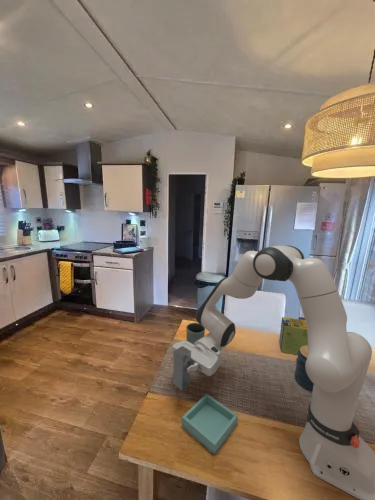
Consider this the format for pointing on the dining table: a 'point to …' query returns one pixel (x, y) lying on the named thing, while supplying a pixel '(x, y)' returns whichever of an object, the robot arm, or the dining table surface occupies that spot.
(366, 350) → the robot arm
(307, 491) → the dining table surface
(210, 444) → the tray
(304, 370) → the canister
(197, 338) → the dark green embossed cup
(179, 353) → the brushed steel pillar
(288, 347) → the protein box
